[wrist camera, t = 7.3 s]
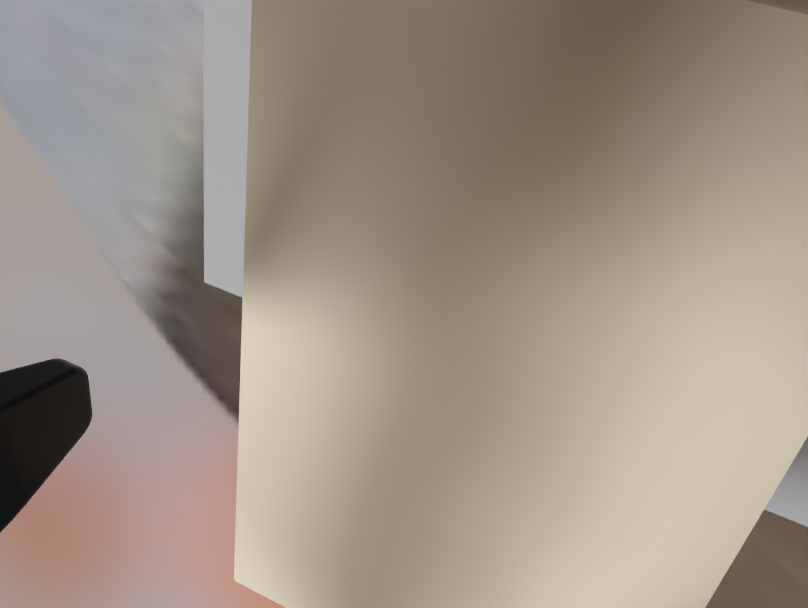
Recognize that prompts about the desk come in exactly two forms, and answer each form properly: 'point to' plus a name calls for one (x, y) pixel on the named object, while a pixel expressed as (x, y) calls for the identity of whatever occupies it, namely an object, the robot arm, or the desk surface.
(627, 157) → the lid board
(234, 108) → the desk mat
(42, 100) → the desk surface
